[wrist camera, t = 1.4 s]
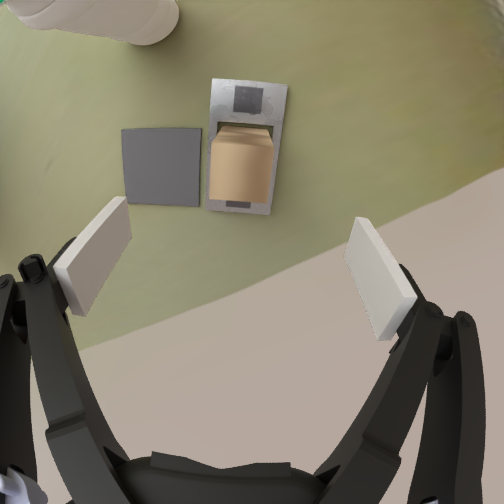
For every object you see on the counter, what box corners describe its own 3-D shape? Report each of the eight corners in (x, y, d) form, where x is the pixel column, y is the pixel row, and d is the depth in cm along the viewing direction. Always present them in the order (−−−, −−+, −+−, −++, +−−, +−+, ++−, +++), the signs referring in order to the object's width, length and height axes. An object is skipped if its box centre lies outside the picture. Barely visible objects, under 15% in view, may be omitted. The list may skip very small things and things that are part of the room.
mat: (127, 201, 34) (126, 203, 34) (122, 129, 28) (121, 130, 28) (199, 205, 34) (198, 206, 34) (201, 128, 29) (200, 128, 28)
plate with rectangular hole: (206, 205, 34) (205, 210, 33) (213, 78, 25) (212, 78, 24) (269, 210, 35) (269, 215, 34) (286, 85, 26) (287, 85, 25)
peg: (220, 165, 31) (209, 198, 23) (223, 125, 29) (211, 142, 20) (262, 169, 32) (266, 203, 24) (267, 128, 29) (274, 148, 21)
